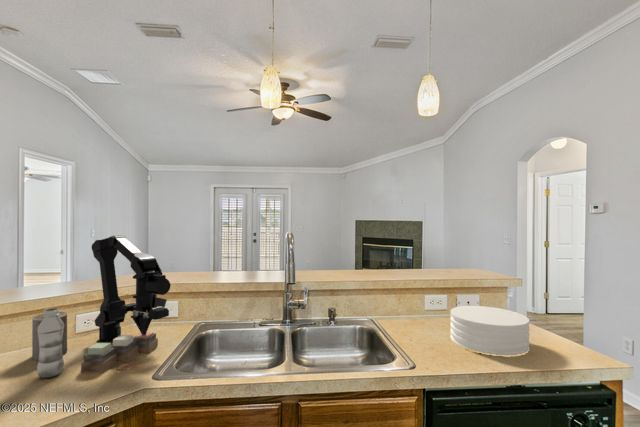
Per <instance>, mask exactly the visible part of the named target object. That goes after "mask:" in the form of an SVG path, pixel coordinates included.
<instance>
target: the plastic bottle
mask: <svg viewBox="0 0 640 427" xmlns="http://www.w3.org/2000/svg"><path fill="white" fill-rule="evenodd" d="M59 312H60V308H59V307H58V308H57V307H54V308H53V307H52V308H46V309H44V310H43V314H44V315H43V317H45V318H44V320H43V321H42V322H41V323H40V325H39V326H38V329H37V331H38V337H39V346H40V353H39V360H38V363H37V367H36V373H37V376H38V377H39V378H42V379H49V378H52V377H55V376H58V375H60V374H61V373H63V370H64V369H65V368H64V367H65V361H64V357H63V355H62V337H63V331H64V323H63V321H62V320H61V319H60V318H59V317H58V315H59Z"/></svg>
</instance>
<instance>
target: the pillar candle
mask: <svg viewBox="0 0 640 427" xmlns="http://www.w3.org/2000/svg"><path fill="white" fill-rule="evenodd" d="M43 315H44V313H41V314H38V315H34V316H33V317H32V322H31V323H32V327H31V328H32V330H31V331H32V334H31V337H32V339H31V340H32V341H31V344H32V348H31V349H32V351H31V352H32V353H31V355H32V359H33V360H34V361H39V353H40V346H39V337H38V331H37V329H38V326H39V325H40V323H41V322H42V321H43V320H44V318H45V317H43ZM58 317H59V318H60V319H61V320H62V321H63V323H64V331H63V337H62V355H65V354H67V352H68V313H67V312H65V311H59V315H58Z"/></svg>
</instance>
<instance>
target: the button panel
mask: <svg viewBox="0 0 640 427" xmlns="http://www.w3.org/2000/svg"><path fill="white" fill-rule="evenodd" d="M158 342H159V340H158V337H157V333H155V332H153V335H152V336H150V337H149V338H135V336H133V342H132V343H131V344H129V345H128V346H113V343H111V350H110V351H108V352H107V353H105V354H103V355H88V352H87V353H85V354H84V355H83V361H81V362H80V372H81V373H105V372H106V371H108V370H109V369H111V367H113V366H114V365H115V364H117V363H123V364H121V365H120V366H118V367H117V368H116V371H130V370H132V369H133V367H135V366H136V363H129V362H130V361H131V360H133V359H134V358H135V357H136V356H138V355H139V354H151V353H152V352H153V351H155V349H156V348H158V346H159V343H158Z"/></svg>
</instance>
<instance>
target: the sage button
mask: <svg viewBox="0 0 640 427" xmlns="http://www.w3.org/2000/svg"><path fill="white" fill-rule="evenodd" d="M111 345H112V342H96V343H94V344H92V345H91V346H90V347H88V348H87V353H88V355H103V354H105V353H107V352H108V351H110V350H111Z"/></svg>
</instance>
